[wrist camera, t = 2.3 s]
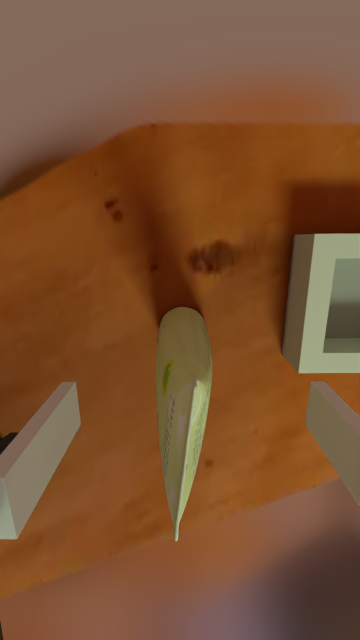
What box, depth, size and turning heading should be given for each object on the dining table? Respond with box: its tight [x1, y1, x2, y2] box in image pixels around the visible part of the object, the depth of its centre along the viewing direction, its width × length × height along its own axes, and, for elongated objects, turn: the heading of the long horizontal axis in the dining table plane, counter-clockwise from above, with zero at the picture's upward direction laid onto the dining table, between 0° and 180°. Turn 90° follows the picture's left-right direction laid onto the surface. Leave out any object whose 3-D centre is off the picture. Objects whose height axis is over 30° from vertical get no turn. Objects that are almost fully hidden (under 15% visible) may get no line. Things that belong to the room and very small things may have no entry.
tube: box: [155, 307, 212, 541], centre depth 21 cm, size 6×5×20 cm
